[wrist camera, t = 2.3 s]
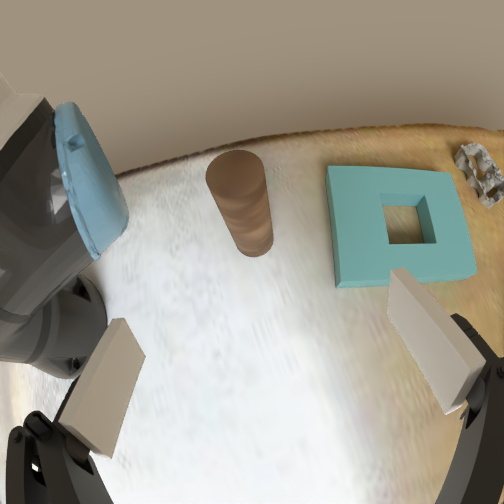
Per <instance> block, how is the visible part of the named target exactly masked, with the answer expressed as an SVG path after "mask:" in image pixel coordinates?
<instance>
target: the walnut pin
mask: <svg viewBox="0 0 504 504" xmlns="http://www.w3.org/2000/svg"><path fill="white" fill-rule="evenodd" d="M206 183H207V185H208V187H209V189H210V191H211V194H212V196H213V198H214V200H215V202H216V204H217V206H218V208H219V210H220V212H221V214H222V217H223V219H224V221H225V223H226V225H227V227H228V229H229V231H230V233H231V235H232V237H233V239H234V241H235V244H236V246H237V248H238V249H239V251H240V252H241V253H243V254H244V255H246V256H249V257H258V256H261V255H264V254H265V253H267V252H268V251H269V250H270V248H271V246H272V244H273V230H272V223H271V215H270V208H269V201H268V194H267V187H266V180H265V173H264V167H263V163H262V161H261V160H260V159H259V157H257V156H256V155H255V154H253V153H251V152H248V151H244V150H233V151H228V152H225V153H223V154H221V155H219V156H218V157H216V158H215V159H214V160H213V161H212V162H211V163H210V165H209V166H208V168H207V171H206Z"/></svg>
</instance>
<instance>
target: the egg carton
mask: <svg viewBox="0 0 504 504" xmlns="http://www.w3.org/2000/svg"><path fill="white" fill-rule="evenodd" d="M459 146H460V149H459V150H458V152H457V153H456V155H455V156H454V158H455V161H456V162H455V165H456V167H457V168H458V169H461V170H463V171H464V172H465V173H466V175H467V182H468V184H469V185H470V186H472V187H474V188H476V189H477V191H478V193H479V198H478V199H479V201H480V203H481V204H484V205H486V206H487V207H488V208H491V207H492V206H493V205H494V204H495V203H497V202H499V201H501V199H503V198H504V177H503V175H501V172H500V169H499V168H498V167H497V166H496V164H495V163H494V161H493V160H492V159H491V157H490V156H489V154H488V152H487V150H486V149H485V147H484V146H482V145H480V144H478V143H472V144H467V145H466V146H464V145H462V144H460V145H459ZM468 155H471V156H474V157H475V158H476V159H477V162H476V163H477V166H478V167H479V169H480V170H482V171H485V172H486V174H485V176H484V177H483V178H482V179H481V180H480V181H479V180H478V179H476V175H477V170H476V168H475V167H474V166H473V164H472V161H471V160H470V159H469V156H468ZM492 188H497V190H498V191H497V193H496V194H495V195H494V196H493V197H490V198H488V197H487V195H486V193H488V192H489V191H490V190H491V189H492Z"/></svg>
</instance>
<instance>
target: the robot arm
mask: <svg viewBox="0 0 504 504" xmlns="http://www.w3.org/2000/svg"><path fill="white" fill-rule="evenodd" d="M128 221H129V211H128V206H127V203H126V200H125V197H124V195H123V193H122V190H121V188H120V186H119V184H118V182H117V179H116V177H115V175H114V173H113V171H112V169H111V167H110V165H109V163H108V161H107V159H106V156H105V154H104V153H103V151H102V149H101V147H100V144H99V142H98V141H97V139H96V137H95V135H94V133H93V131H92V129H91V127H90V126H89V124H88V122H87V120H86V119H85V117H84V116H83V115H82V113H81V111H80V110H79V107H78V106H77V105H76V104H75V103H74V102H67V103H65V104H60V105H59V106H57V107H56V110H54V109H53V108H52V107H51V106H50V105H49V103H48V101H47V100H46V99H45V97H44V96H43V95H42V94H41V93H24V94H18V93H17V92H15V91H14V90H13V89H12V88H11V87H10V85H9V84H8V82H7V81H6V79H5V78H4V76H3V75H2V73H1V72H0V361H5V362H14V363H25V364H30V365H32V366H34V367H36V368H38V369H40V370H42V371H44V372H46V373H48V374H50V375H52V376H54V377H57V378H61V379H75V380H74V381H73V382H72V384H71V386H70V388H69V390H68V393H67V394H66V396H65V399H64V400H63V402H62V404H61V406H60V408H59V410H58V412H57V414H56V416H55V418H54V421H53V422H51V421H50V420H49V419H48V418H47V417H46V416H45V415H44V414H43V413H42V412H40V411H33V412H31V413H30V414H28V416H27V417H26V418H25V420H24V423H23V427H22V426H17V427H15V428H13V429H12V430H11V432H10V434H9V438H8V447H7V459H6V504H114V503H113V501H112V500H111V498H110V496H109V494H108V492H107V490H106V488H105V486H104V483H103V481H102V479H101V477H100V475H99V473H98V470H97V468H96V466H95V463H94V461H93V459H92V457H91V456H90V455H89V452H90V450H91V451H92V452H94V453H95V454H96V455H97V456H100V457H104V458H109V459H112V456H113V453H114V449H115V446H116V442H117V439H118V436H119V433H120V429H121V426H122V423H123V420H124V417H125V414H126V411H127V408H128V405H129V402H130V399H131V396H132V393H133V390H134V387H135V384H136V381H137V379H138V376H139V373H140V370H141V368H142V365H143V362H144V359H145V357H146V356H145V354H144V353H143V351H142V349H141V348H140V346H139V344H138V342H137V341H136V339H135V337H134V335H133V333H132V331H131V330H130V328H129V326H128V324H127V322H126V320H125V318H117V319H112V321H111V322H110V324H109V326H108V327H107V321H106V313H105V308H104V304H103V301H102V298H101V296H100V294H99V292H98V290H97V289H96V287H95V286H94V285H93V284H92V282H90V281H89V280H88V279H87V278H85V277H83V276H81V275H79V273H80V272H81V271H82V270H83V269H84V268H85V267H87V266H88V265H89V264H90V263H91V262H92V261H94V260H96V261H97V260H98V259H99V258H100V257H101V253H102V252H103V251H104V250H105V249H106V248H107V247H109V246H110V245H111V244H112V243H113V242H114V241H115V240H116V239H117V238H119V237H120V236H121V235H122V234H123V232H124V231H125V229H126V227H127V225H128ZM387 317H388V318H389V320H390V322H391V323H392V325H393V326H394V328H395V329H396V331H397V332H398V334H399V336H400V337H401V339H402V340H403V342H404V344H405V345H406V347H407V348H408V350H409V352H410V353H411V355H412V357H413V358H414V360H415V362H416V363H417V365H418V367H419V369H420V370H421V372H422V374H423V375H424V377H425V379H426V381H427V382H428V384H429V386H430V388H431V390H432V391H433V393H434V395H435V397H436V399H437V401H438V403H439V404H440V406H441V408H442V410H443V412H444V414H445V415H447V414H449V413H450V412H452V411H454V410H456V409H458V408H460V407H461V405H462V404H463V402H464V400H465V399H466V400H467V402H468V406H467V407H466V409H465V410H464V412H463V413H462V415H461V417H460V419H462V418H463V417H464V416H465V418H464V422H463V426H462V430H461V434H460V437H459V441H458V444H457V448H456V451H455V454H454V457H453V460H452V463H451V466H450V469H449V471H448V474H447V477H446V479H445V482H444V484H443V487H442V489H441V491H440V494H439V496H438V498H437V500H436V503H435V504H498V502H499V499H500V496H501V493H502V489H503V486H504V357H503V358H499V357H498V356H497V355H496V354H495V353H494V352H493V350H492V349H491V348H490V347H489V345H488V344H487V343H486V342H485V341H484V339H483V338H482V337H481V336H480V335H478V332H477V331H476V330H475V329H474V328H473V326H472V325H471V324H470V323H469V322H468V321H467V320H466V319H465V318H464V317H462V316H460V315H458V314H457V313H455V314H453V315H451V316H449V314H448V313H447V312H446V311H445V310H444V309H443V308H442V307H441V305H440V304H439V303H438V302H437V301H436V300H435V299H434V298H433V297H432V296H431V294H430V293H429V292H428V291H427V290H426V289H425V288H424V287H423V286H422V285H421V284H420V283H419V282H418V281H417V280H416V279H415V278H414V277H413V276H412V275H411V274H410V273H409V272H408V271H407V270H406V269H405V268H404V267H402V268H398V269H394V270H391V271H390V287H389V299H388V309H387ZM32 463H33V464H34V465H35V466H37V467H38V472H37V471H35V470H34V469H32ZM503 504H504V501H503Z"/></svg>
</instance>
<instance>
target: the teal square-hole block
mask: <svg viewBox="0 0 504 504" xmlns="http://www.w3.org/2000/svg"><path fill="white" fill-rule="evenodd" d="M325 182H326V189H327V197H328V205H329V213H330V222H331V232H332V242H333V253H334V266H335V281H336V288H351V287H371V286H389V285H390V271H391V270H394V269H398V268H402V267H404V268H405V269H406V270H407V271H408V272H409V273H410V274H411V275H412V276H413V277H414V278H415V279H416V280H417V281H418V282H419V283H432V282H444V281H455V280H465V279H467V278H469V277H471V276H473V275H475V274H476V273H477V267H476V262H475V257H474V252H473V247H472V243H471V239H470V235H469V231H468V227H467V223H466V219H465V216H464V212H463V209H462V206H461V203H460V199H459V196H458V193H457V190H456V188H455V185H454V182H453V179H452V176H451V174H450V173H445V172H437V171H427V170H416V169H403V168H388V167H368V166H328V167H327V172H326V178H325ZM382 205H386V206H416V208H417V212H418V216H419V221H420V225H421V229H422V234H423V239H424V244H389V239H388V233H387V228H386V222H385V217H384V212H383V207H382Z"/></svg>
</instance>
